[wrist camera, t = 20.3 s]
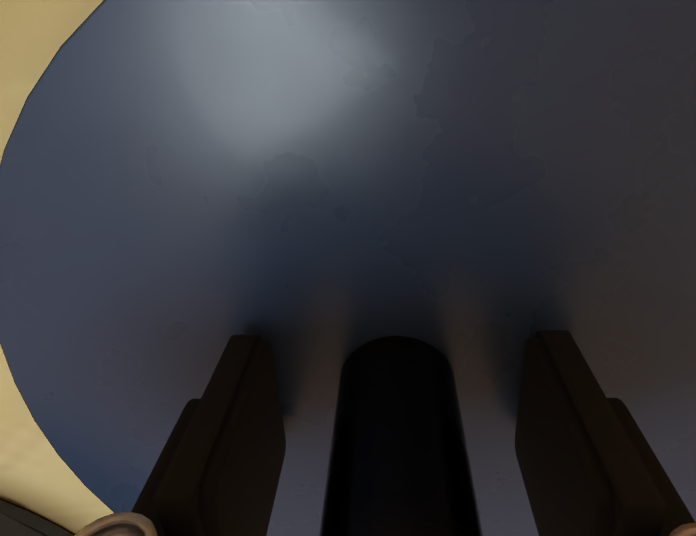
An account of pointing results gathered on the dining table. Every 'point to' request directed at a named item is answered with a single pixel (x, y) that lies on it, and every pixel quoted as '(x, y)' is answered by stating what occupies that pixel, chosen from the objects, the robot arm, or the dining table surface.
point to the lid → (355, 239)
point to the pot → (25, 523)
